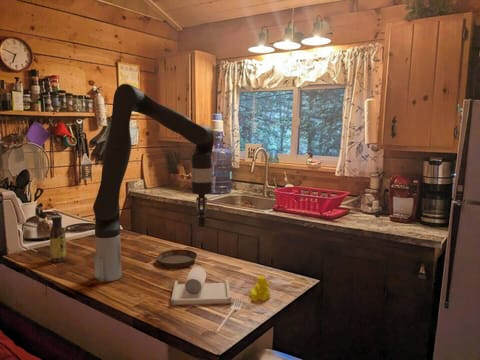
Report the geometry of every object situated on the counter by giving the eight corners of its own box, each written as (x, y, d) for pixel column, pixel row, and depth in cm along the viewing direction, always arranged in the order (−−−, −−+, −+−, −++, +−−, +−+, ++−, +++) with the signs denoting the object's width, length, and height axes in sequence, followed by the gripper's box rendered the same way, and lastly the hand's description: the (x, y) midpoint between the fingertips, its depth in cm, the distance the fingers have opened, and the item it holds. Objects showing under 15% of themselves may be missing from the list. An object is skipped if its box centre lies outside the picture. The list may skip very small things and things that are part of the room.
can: (204, 284, 147) (200, 297, 135) (187, 280, 147) (182, 293, 135) (208, 268, 146) (204, 280, 134) (191, 264, 146) (186, 275, 134)
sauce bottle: (64, 262, 168) (61, 218, 165) (48, 263, 167) (46, 218, 164) (68, 257, 174) (66, 214, 171) (53, 258, 173) (51, 215, 170)
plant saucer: (167, 272, 158) (167, 265, 157) (150, 260, 172) (150, 253, 171) (204, 264, 168) (204, 257, 167) (185, 253, 182) (185, 246, 182)
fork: (211, 333, 113) (211, 327, 112) (235, 302, 131) (235, 297, 131) (222, 335, 112) (222, 329, 111) (244, 304, 130) (244, 298, 130)
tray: (175, 285, 144) (175, 280, 144) (228, 283, 146) (228, 279, 146) (171, 305, 128) (170, 300, 128) (230, 303, 130) (230, 298, 130)
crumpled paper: (246, 298, 134) (246, 277, 133) (260, 290, 140) (260, 270, 139) (259, 303, 131) (260, 281, 129) (273, 295, 137) (273, 274, 136)
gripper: (212, 182, 135) (211, 230, 137) (211, 177, 148) (211, 221, 150) (190, 182, 134) (190, 231, 137) (192, 177, 147) (192, 222, 150)
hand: (201, 226), depth 143 cm, fingers closed
